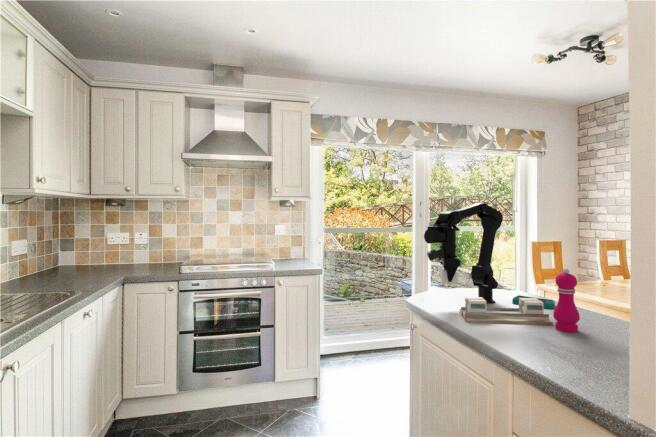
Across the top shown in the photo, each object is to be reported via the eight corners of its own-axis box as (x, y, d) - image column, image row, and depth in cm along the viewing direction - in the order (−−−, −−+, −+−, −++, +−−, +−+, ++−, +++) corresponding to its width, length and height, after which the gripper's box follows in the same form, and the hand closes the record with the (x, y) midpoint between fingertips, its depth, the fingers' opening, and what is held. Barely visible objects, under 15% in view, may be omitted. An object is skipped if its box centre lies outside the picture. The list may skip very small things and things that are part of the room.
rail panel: (459, 311, 145) (459, 294, 145) (536, 313, 140) (536, 296, 140) (467, 322, 131) (466, 303, 131) (553, 324, 126) (552, 305, 126)
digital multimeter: (551, 310, 146) (551, 303, 146) (511, 304, 156) (511, 297, 156) (556, 306, 151) (556, 299, 151) (517, 301, 161) (517, 294, 161)
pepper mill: (571, 334, 116) (571, 270, 116) (548, 328, 123) (548, 268, 122) (584, 330, 120) (584, 269, 119) (561, 324, 126) (561, 266, 126)
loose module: (440, 281, 154) (440, 269, 154) (455, 282, 153) (455, 269, 153) (442, 284, 149) (441, 271, 149) (457, 284, 148) (457, 271, 148)
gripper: (425, 240, 161) (426, 276, 161) (430, 244, 143) (430, 284, 143) (452, 240, 159) (452, 276, 160) (460, 244, 141) (461, 285, 141)
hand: (448, 280), depth 151 cm, fingers closed on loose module, 5 cm apart
